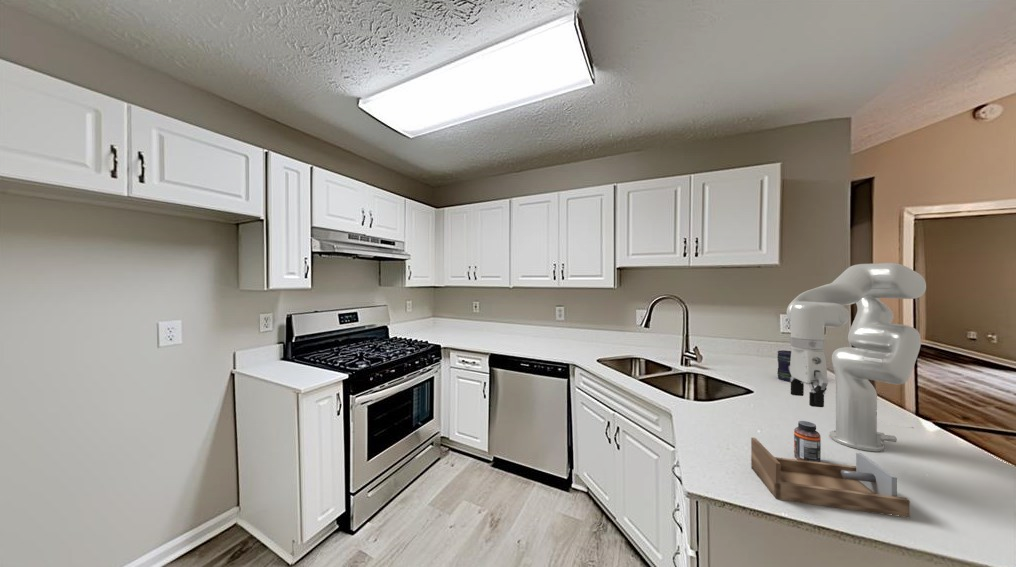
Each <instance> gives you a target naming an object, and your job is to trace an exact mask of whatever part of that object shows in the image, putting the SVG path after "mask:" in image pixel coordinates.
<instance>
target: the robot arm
mask: <svg viewBox="0 0 1016 567" xmlns="http://www.w3.org/2000/svg"><path fill="white" fill-rule="evenodd" d="M926 290H927V283H926V280H925V278H924V277H923V275H921V274H920V273H918V272H917V271H915V270H913V269H912V268H910V267H908V266H906V265H904V264H901V263H895V262H885V263H884V262H879V263H858V264H854V265H851V266H848V267H847V268H846V269H845V270H844V271H843V272H842V273H841V274H840V275H839V276H838V277H836V278H835V279H834V280H833V281H832V282H831V283H827V284H822V285H821V286H817V287H814V288H812V289H808V290H805V291H803V292H802V293H800V294H798V295H797V296H796V297H795V298H794V299H793V300H792V301H791V302H790V303H789V304H788V306H787V308H786V317H787V319H788V320H789V321H790V349H791V350H790V351H791V360H790V366H789V371H790V373H789V375H790V377H791V378H790V381H791V382H790V395H791V396H797V397H803V396H804V395H805V394H804V393H805V392H804V387H805V385H804V384H806V385H808V386H809V389H810V391H809V392H808V393H809V401H808V403H809V404H808V405H809V406H810V407H813V408H825V394H826V391H827V386H828V384H829V382H828V368H827V367H828V366H827V360H826V354H825V328H839V327H843V326H845V325H846V324H847V322H848V321H849V320H850V313H849V310H848V308H847V307H846V306H849V305H853V304H856V307H857V311H856V314H855V317H854V318H853V319H854V320H853V321H852V324H851V326H850V329H849V331H848V336H847V341H848V343H849V344H850V345H851V346H853V347H850V346H843V347H839V348H837V349H835V350H834V351H833V352H832V355H831V362H832V364H831V365H832V367H833V372H834V378H835V430H831V431H830V432H829V437H830V438H831V439H832V440H833V441H835V442H836V443H839V444H841V445H843V446H846V447H850V448H853V449H856V450H857V449H858V450H861V451H867V452H868V451H869V452H882V451H884V449H885V445H884V443H883V442H885V441H886V442H890V443H891V442H892V443H896V442H897V436H895V435H890V434H885V433H884V432H882V431H880V432H879V431H878V418H877V410H878V393H877V390H876V388H875V387H874V385H873V384H872V382H870V381H876V382H881V383H886V384H890V385H903V384H906V383H907V382H908V381H909V379H910V378H911V375H912V373H913V369H914V367H915V364H916V361H917V358H918V355H919V353H920V349H921V346H922V345H921V344H922V338H921V334H920V332H919V331H918V330H917V328H914V327H913V326H909V325H906V324H898V323H892V322H893V320H894V316H895V315H894V313H893V311H892V310H891V308H890V307H889V306H888V305H886V303H884V302H882V301H881V300H880V298H881V299H899V300H900V299H903V300H904V299H905V300H912V299H918V298H920V297H922V296H923V295H924V294H925V293H926Z"/></svg>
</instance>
